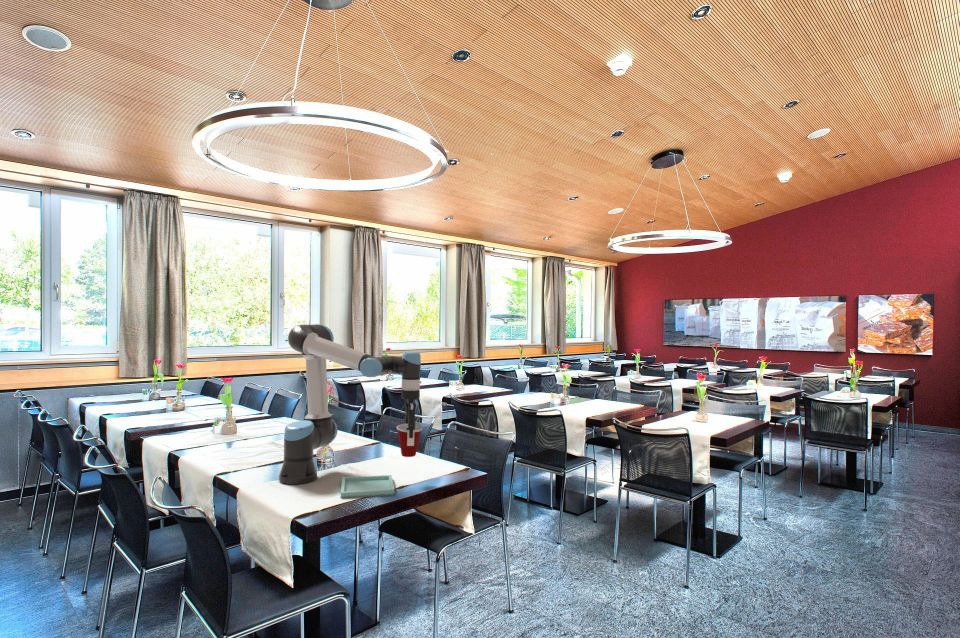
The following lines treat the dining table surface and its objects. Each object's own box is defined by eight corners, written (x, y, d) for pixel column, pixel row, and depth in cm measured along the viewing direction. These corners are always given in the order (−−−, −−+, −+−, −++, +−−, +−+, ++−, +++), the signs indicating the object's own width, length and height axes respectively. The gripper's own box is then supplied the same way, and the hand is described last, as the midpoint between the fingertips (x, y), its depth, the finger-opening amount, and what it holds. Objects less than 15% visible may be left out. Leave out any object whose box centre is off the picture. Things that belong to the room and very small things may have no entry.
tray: (340, 498, 198) (340, 492, 198) (342, 482, 218) (342, 477, 218) (394, 495, 203) (394, 489, 203) (391, 479, 222) (391, 474, 222)
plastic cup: (400, 460, 212) (401, 430, 212) (392, 453, 221) (392, 425, 221) (425, 457, 217) (426, 428, 217) (416, 451, 226) (417, 423, 226)
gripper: (423, 393, 209) (421, 448, 209) (416, 385, 231) (415, 435, 231) (404, 393, 207) (402, 449, 207) (399, 385, 230) (397, 436, 230)
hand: (409, 442), depth 219 cm, fingers closed on plastic cup, 11 cm apart
